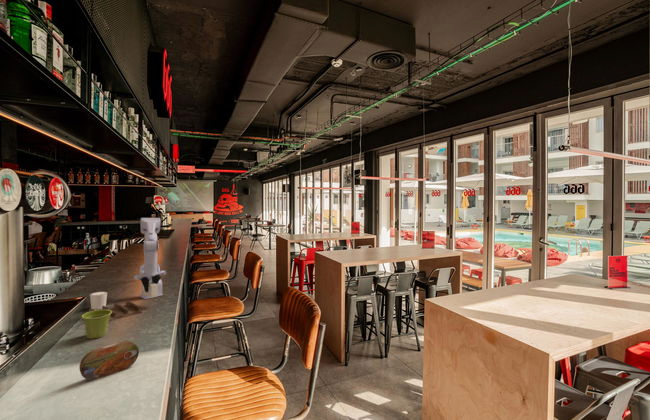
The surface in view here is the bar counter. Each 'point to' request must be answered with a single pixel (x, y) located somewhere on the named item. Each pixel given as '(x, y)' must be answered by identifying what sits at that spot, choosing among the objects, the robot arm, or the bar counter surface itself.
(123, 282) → the bar counter surface
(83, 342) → the bar counter surface
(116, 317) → the rack
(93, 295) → the shot glass
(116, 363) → the tin
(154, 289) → the cream rectangular block
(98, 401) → the bar counter surface
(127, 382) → the bar counter surface
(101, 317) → the plant pot
